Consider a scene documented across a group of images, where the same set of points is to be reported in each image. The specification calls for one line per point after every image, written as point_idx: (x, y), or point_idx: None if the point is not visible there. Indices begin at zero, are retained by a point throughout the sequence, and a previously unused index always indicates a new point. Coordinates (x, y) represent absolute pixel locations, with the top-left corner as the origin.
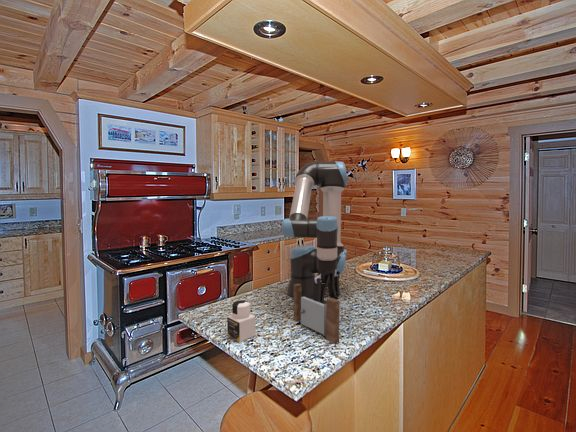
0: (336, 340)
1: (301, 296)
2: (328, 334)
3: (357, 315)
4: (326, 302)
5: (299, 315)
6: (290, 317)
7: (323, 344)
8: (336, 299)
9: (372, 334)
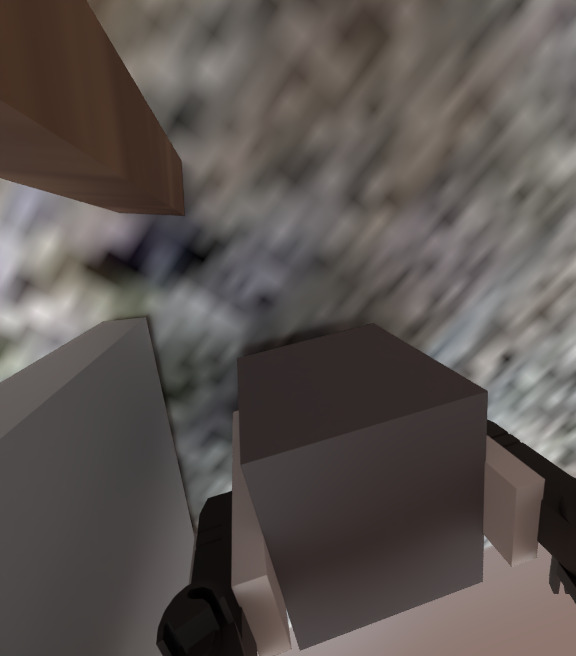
0: None
1: (36, 118)
2: None
3: (553, 381)
4: (428, 488)
5: (144, 209)
6: None
7: None
8: (550, 580)
9: None
